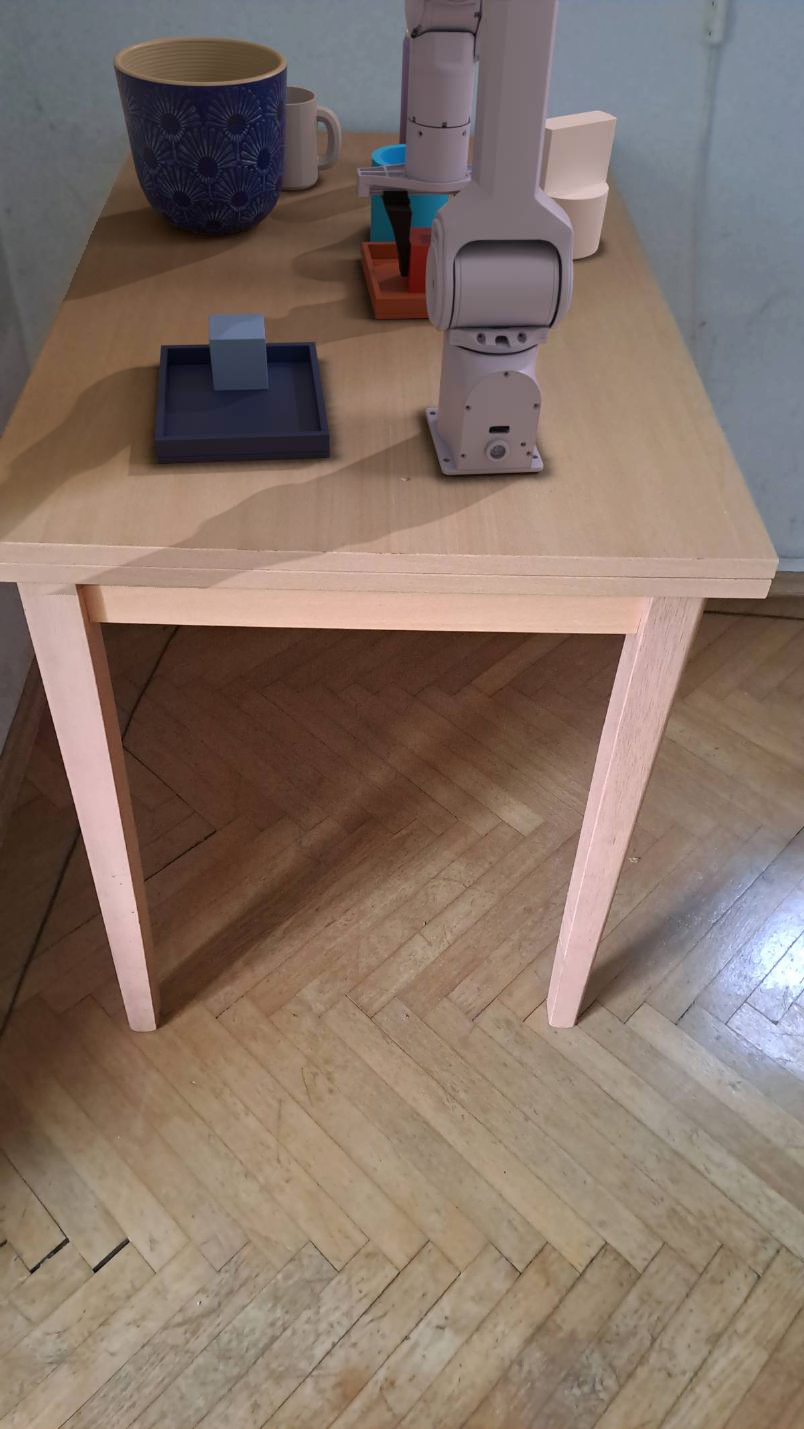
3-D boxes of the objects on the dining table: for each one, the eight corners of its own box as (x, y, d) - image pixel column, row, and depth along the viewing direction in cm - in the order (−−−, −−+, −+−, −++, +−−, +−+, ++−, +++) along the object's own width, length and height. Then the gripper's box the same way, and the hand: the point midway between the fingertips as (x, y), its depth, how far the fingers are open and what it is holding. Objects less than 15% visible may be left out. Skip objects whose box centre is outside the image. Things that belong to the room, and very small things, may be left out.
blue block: (268, 389, 83) (265, 338, 80) (214, 391, 83) (208, 339, 79) (266, 363, 86) (263, 313, 83) (214, 365, 86) (208, 314, 82)
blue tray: (329, 457, 77) (329, 434, 76) (157, 463, 76) (154, 440, 74) (315, 363, 88) (315, 341, 86) (163, 366, 86) (160, 344, 85)
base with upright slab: (563, 221, 113) (581, 101, 104) (615, 250, 108) (639, 127, 99) (499, 235, 109) (513, 112, 101) (550, 265, 104) (569, 139, 95)
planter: (299, 195, 115) (294, 40, 104) (285, 255, 103) (278, 87, 92) (152, 188, 114) (131, 31, 103) (122, 247, 103) (95, 78, 92)
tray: (501, 316, 95) (503, 296, 94) (375, 319, 94) (376, 298, 92) (476, 260, 104) (477, 240, 103) (361, 261, 103) (361, 241, 101)
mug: (442, 258, 104) (448, 174, 98) (365, 251, 105) (367, 167, 99) (449, 215, 113) (455, 135, 107) (378, 209, 113) (380, 129, 107)
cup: (259, 168, 120) (254, 84, 114) (341, 171, 121) (341, 87, 114) (255, 190, 115) (250, 103, 109) (341, 193, 116) (341, 106, 109)
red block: (454, 292, 98) (457, 245, 94) (409, 293, 97) (411, 245, 94) (446, 273, 101) (450, 226, 97) (402, 273, 100) (404, 227, 97)
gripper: (509, 104, 92) (493, 254, 102) (353, 103, 90) (352, 256, 100) (525, 129, 87) (507, 284, 97) (361, 128, 85) (359, 286, 95)
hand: (429, 272), depth 98 cm, fingers closed on red block, 4 cm apart
